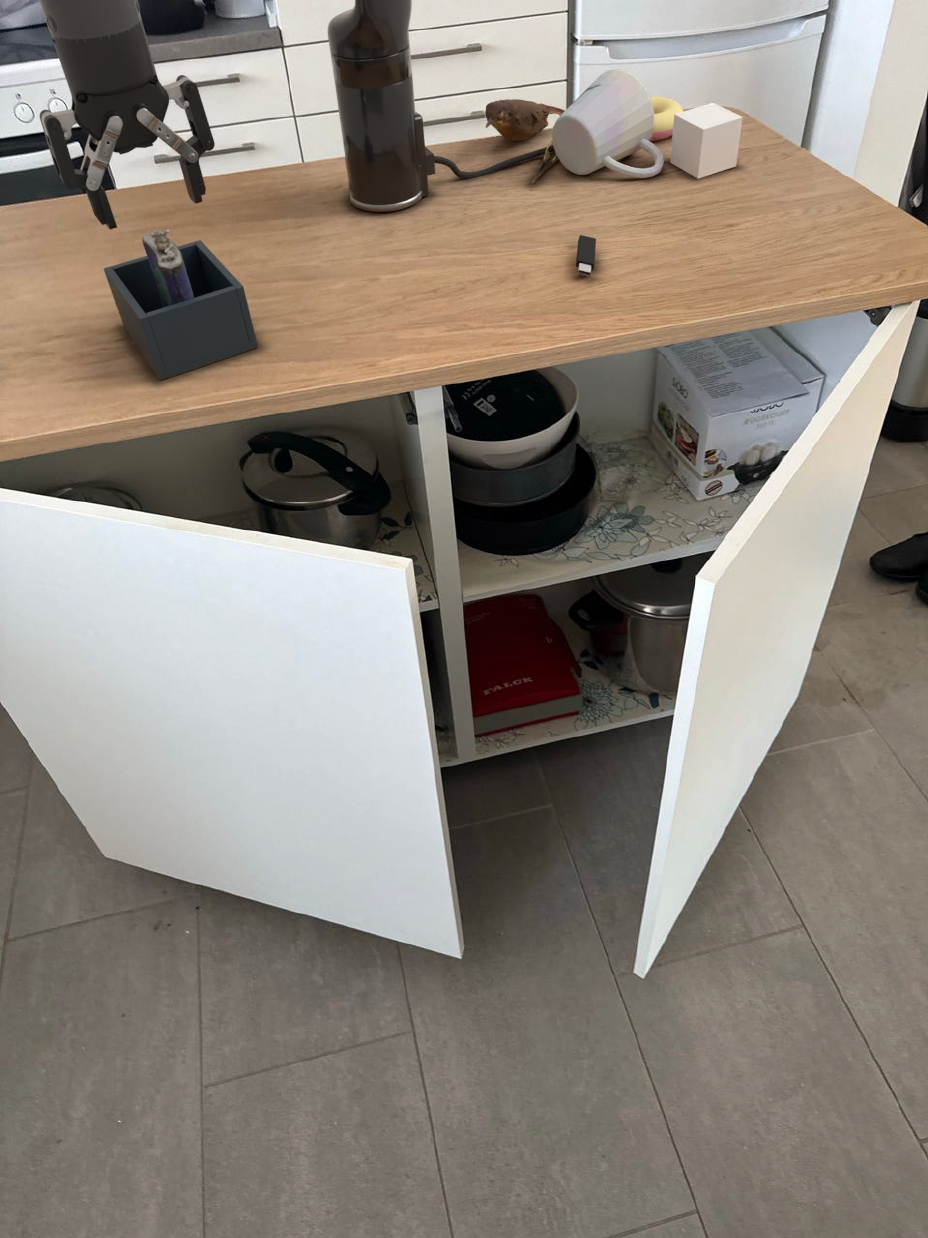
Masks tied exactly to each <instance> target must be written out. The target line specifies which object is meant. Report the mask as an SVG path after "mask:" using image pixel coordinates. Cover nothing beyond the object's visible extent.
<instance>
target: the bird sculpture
mask: <svg viewBox="0 0 928 1238" xmlns="http://www.w3.org/2000/svg"><path fill="white" fill-rule="evenodd" d="M565 111H566V109H562V108H559V107H556V106H552V105H549V104H548V105H547V104H544V103H543V102H542V103H538V102H535V101H531V100H524V99H520V98H519V99H518V98H517V99H515V98H512V99H498V100H495V101H491V102H489V103H487V104H486V106H485V111H484V114H485V118H486V124H485V129H488V128H489V127H490V126H492V127H493V128H494V129H495V130H496V131H497V132H498V133H499V135H501V136H502V137H504V138H506V139H509V140H511V141H514V142H519V141H520V142H521V141H525V140H528V139H531V138H534V137H536V136H537V135H538V134H539V133H540V132H543V130H544V129H546V128H547V127H548V126H549V121H548V118H549V116H550V115H558V117H560V116H561V115H562V114H563V113H564V112H565Z"/></svg>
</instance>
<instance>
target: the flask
mask: <svg viewBox="0 0 928 1238" xmlns="http://www.w3.org/2000/svg"><path fill="white" fill-rule="evenodd" d="M170 233H172V230H171V228H167V227H166V228H165V230H156V231H153V230H152V231H150V232H149V233H147V234H145V235H144V236H142V238H141V241H142V246H143V249H144V250H145V255H146V256H147V257H148V260H149V263H150V266H151V269H152V272H153V275H154V278H155V282H156V285H157V288H158V291H159V295H160V298H161V301H162V304H163V307H167V306H170V305H174V304H177V303H180V302H183V301H186V300H189V299H193V298H194V296H193V292H192V289H191V285H190V282H189V279H188V275H187V272H186V268H185V265H184V261H183V258H182V254H181V252H180V250H179V248H178V245H177V244H176V243H175V242H174V241H173V240H172V239H171V238H169V237H168V236H167V234H170Z"/></svg>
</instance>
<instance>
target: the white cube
mask: <svg viewBox="0 0 928 1238" xmlns="http://www.w3.org/2000/svg"><path fill="white" fill-rule="evenodd" d="M683 111H684V112H680V113H677V114H674V124H673V135H671V147H670V148H671V149H670V157H669V159H670V160H669V163H670V164H672V165H673V166H676V167H677V168H678V169H681V170H682V171H684V172H685V173H687V174H689V175H690V176H692V177H694V178H695V179H701V178H705V177H708V176H711V175H713V174H717V173H720V172H723V171H725V170H729V169H732V168H735V167H737V162H738V154H739V148H740V147H739V146H740V140H741V134H742V125H743V119H744V117H743V116H741V115H739V114H737V113H735V112H734V111H731V110H729V109H727V108H725V107H722V106H721V105H719V104H717V103H714V102H710V103H707V104H704V105H700V106H697V107H693V108H691V109H687V110H683Z"/></svg>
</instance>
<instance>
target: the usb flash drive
mask: <svg viewBox="0 0 928 1238" xmlns="http://www.w3.org/2000/svg"><path fill="white" fill-rule="evenodd" d="M596 246H597V238H595V237H591V236H587V235H583V234H579V237H578V240H577V247H576V248H577V249H576V260H575V268H578V269H577V274H578V275H581V276H582V275H583V276H586V277H590V276H591V273H592V271H594V268H595V263H596V262H595V261H596V249H597V248H596Z"/></svg>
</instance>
